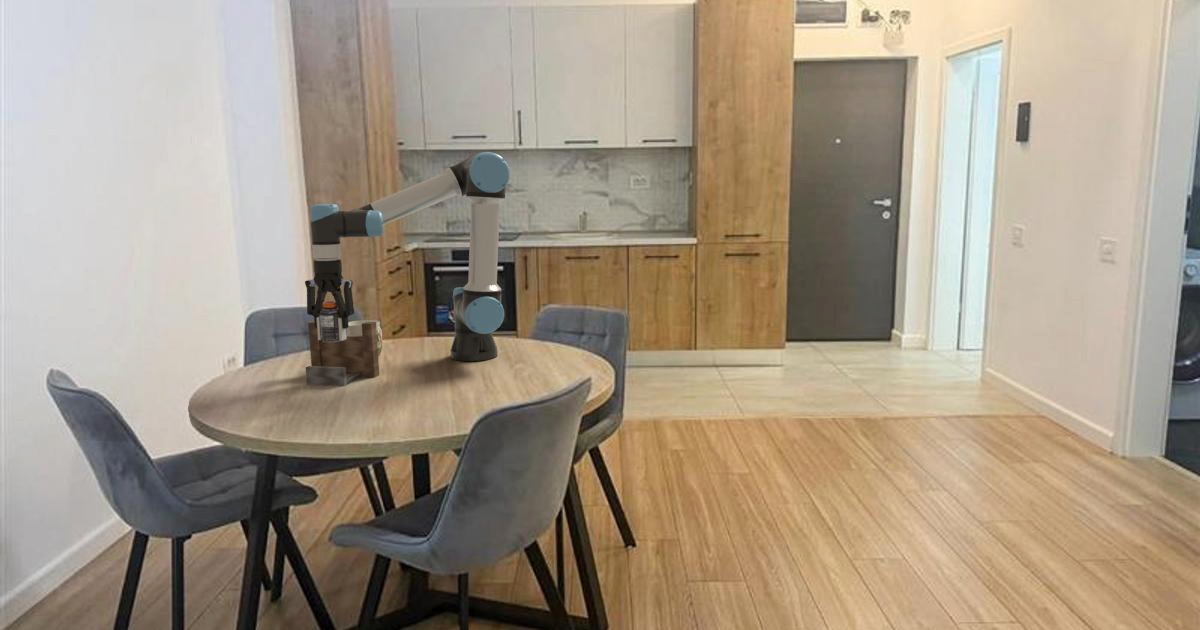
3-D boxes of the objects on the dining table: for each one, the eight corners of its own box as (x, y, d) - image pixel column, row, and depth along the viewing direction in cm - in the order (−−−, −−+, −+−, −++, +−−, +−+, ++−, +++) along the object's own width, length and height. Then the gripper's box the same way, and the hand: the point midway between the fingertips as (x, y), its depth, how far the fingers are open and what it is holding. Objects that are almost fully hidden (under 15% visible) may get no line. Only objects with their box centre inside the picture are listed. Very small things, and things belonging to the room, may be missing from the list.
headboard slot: (379, 374, 231) (375, 321, 229) (358, 386, 219) (354, 330, 216) (317, 372, 235) (313, 320, 232) (293, 383, 222) (288, 328, 220)
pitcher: (397, 357, 254) (394, 316, 252) (366, 370, 237) (363, 326, 235) (367, 356, 257) (364, 315, 255) (335, 368, 240) (332, 325, 238)
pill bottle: (337, 337, 228) (335, 299, 227) (346, 340, 224) (344, 301, 222) (317, 340, 224) (315, 301, 223) (326, 343, 220) (324, 303, 218)
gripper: (364, 258, 222) (369, 337, 226) (303, 257, 226) (309, 335, 230) (351, 260, 215) (356, 343, 219) (289, 260, 218) (295, 340, 222)
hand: (332, 339), depth 224 cm, fingers closed on pill bottle, 6 cm apart
